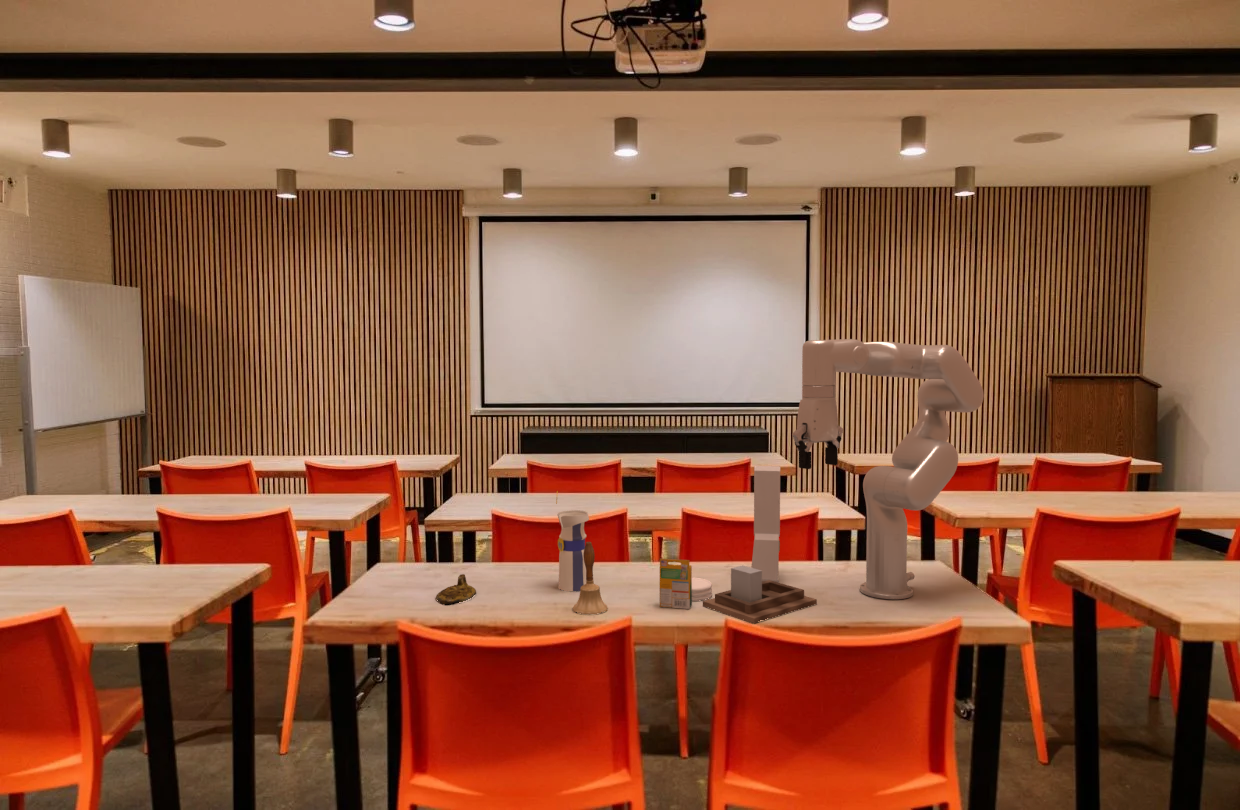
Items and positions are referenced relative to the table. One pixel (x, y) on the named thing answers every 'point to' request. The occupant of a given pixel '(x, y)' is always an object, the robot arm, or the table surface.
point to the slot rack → (762, 602)
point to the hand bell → (589, 588)
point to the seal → (456, 592)
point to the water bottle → (572, 550)
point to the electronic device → (766, 521)
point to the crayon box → (675, 584)
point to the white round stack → (701, 589)
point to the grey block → (746, 583)
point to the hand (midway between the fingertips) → (818, 466)
